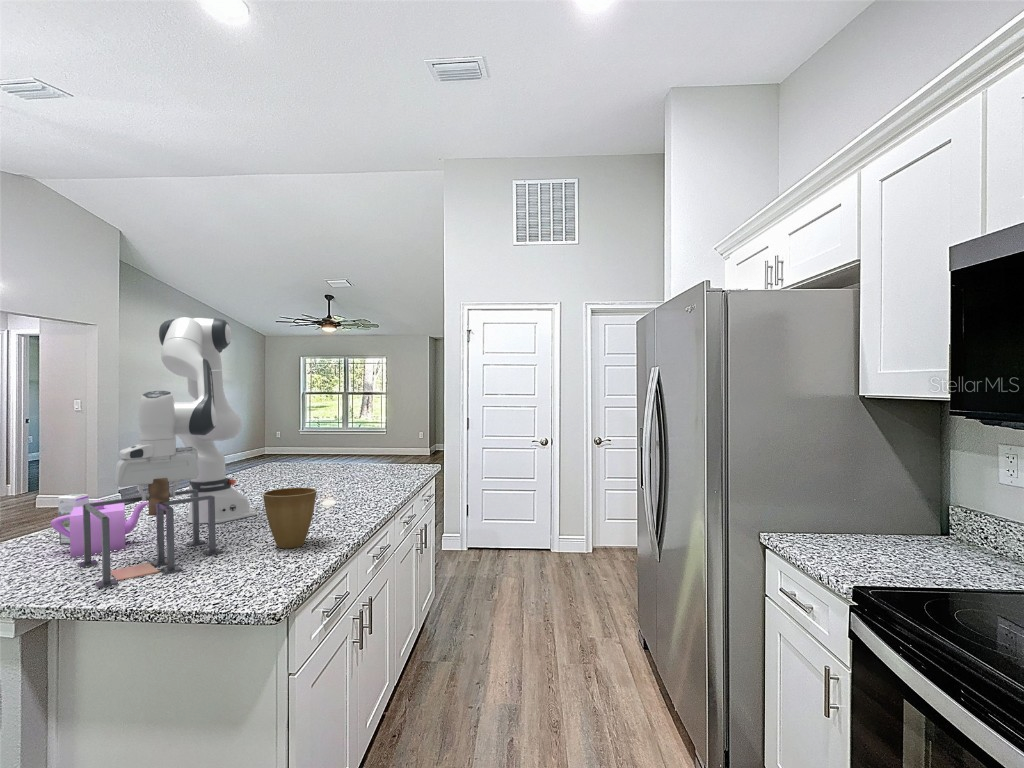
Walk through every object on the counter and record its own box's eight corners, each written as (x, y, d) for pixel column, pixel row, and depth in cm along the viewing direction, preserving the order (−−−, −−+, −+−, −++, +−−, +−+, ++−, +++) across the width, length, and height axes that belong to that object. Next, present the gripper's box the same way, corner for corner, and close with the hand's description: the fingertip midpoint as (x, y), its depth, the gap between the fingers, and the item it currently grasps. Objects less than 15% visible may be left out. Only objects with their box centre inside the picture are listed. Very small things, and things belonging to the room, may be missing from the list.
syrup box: (91, 539, 188) (90, 493, 188) (75, 544, 182) (74, 497, 182) (74, 539, 188) (73, 493, 188) (58, 544, 182) (57, 497, 182)
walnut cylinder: (166, 511, 170) (165, 475, 170) (171, 513, 167) (171, 477, 167) (146, 513, 167) (145, 478, 167) (151, 516, 163) (150, 479, 163)
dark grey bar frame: (201, 541, 183) (200, 487, 183) (234, 559, 164) (232, 499, 163) (77, 565, 161) (75, 504, 161) (98, 589, 142) (96, 519, 142)
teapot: (153, 546, 179) (152, 499, 179) (48, 561, 165) (47, 510, 165) (152, 535, 192) (150, 491, 192) (54, 548, 178) (52, 501, 178)
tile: (148, 564, 161) (148, 562, 161) (159, 572, 153) (159, 570, 153) (108, 572, 154) (108, 570, 154) (117, 581, 147) (117, 579, 147)
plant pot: (314, 550, 171) (313, 494, 171) (259, 554, 168) (258, 497, 168) (320, 536, 186) (319, 485, 186) (269, 540, 183) (268, 488, 183)
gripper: (194, 445, 176) (195, 492, 176) (112, 451, 162) (113, 503, 162) (201, 446, 172) (202, 494, 172) (118, 453, 157) (119, 506, 157)
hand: (158, 498), depth 167 cm, fingers closed on walnut cylinder, 5 cm apart
